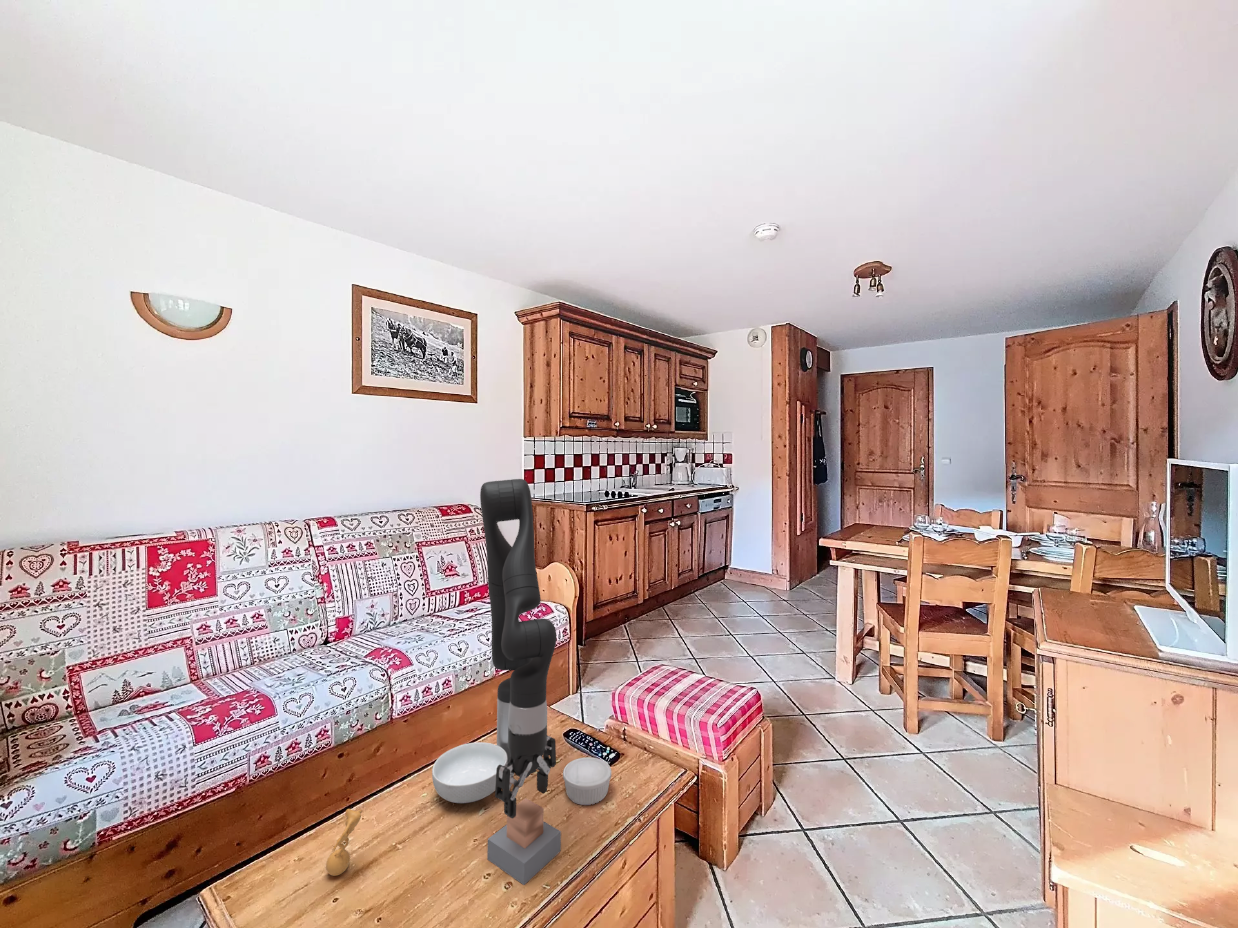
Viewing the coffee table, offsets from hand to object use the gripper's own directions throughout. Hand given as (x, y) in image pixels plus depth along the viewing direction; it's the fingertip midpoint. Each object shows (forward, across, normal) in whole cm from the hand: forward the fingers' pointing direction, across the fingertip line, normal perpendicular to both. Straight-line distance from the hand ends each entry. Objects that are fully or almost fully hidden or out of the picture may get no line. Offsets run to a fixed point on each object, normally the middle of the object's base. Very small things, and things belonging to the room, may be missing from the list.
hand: (526, 803), depth 100 cm
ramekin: (+11, -22, -2) cm, 24 cm away
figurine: (+10, +23, -24) cm, 35 cm away
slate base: (+10, 0, 0) cm, 10 cm away
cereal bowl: (+11, -6, -24) cm, 27 cm away
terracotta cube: (+6, 0, 0) cm, 6 cm away
